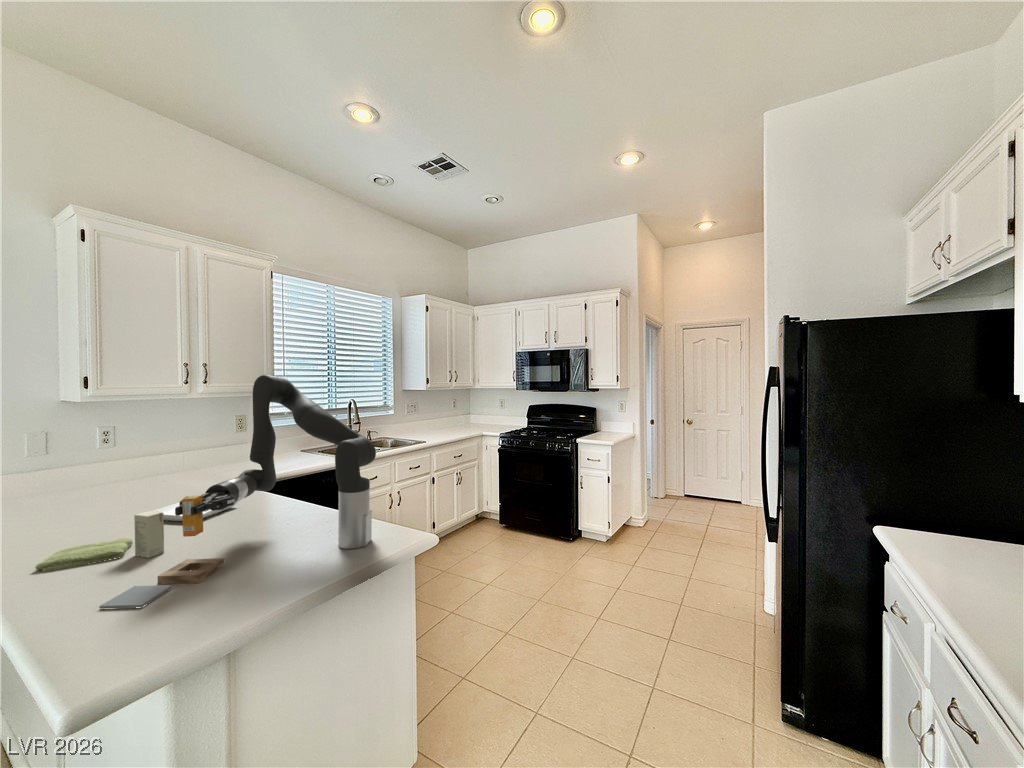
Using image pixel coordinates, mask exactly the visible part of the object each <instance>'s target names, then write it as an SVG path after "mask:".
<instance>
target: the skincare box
mask: <svg viewBox="0 0 1024 768" xmlns="http://www.w3.org/2000/svg"><path fill="white" fill-rule="evenodd" d="M164 521H165V520H164V519H163V512H156V511H154V510H149V511H144V512H141V513H137V514H134V556H135V555H136V556H135V557H139V556H141V557H140V558H147V559H149V558H151V557H155V556H158V555H161V554H163V553H165V531H164V525H165V523H164Z"/></svg>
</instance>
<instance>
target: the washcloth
mask: <svg viewBox="0 0 1024 768" xmlns="http://www.w3.org/2000/svg"><path fill="white" fill-rule="evenodd" d="M133 543H134V541H133V539H131V538H130V537H121V538H117V539H114V540H108V541H102V542H96V543H88V544H83V545H78V546H72V547H67V548H64V549H60V550H58V551H55V552H54V553H53V554H51V555H49V556H47V557H45V558H44V559H43V560H42V562H39V563H37V564H36V565H35V570H42V572H43V573H47V572H48V573H49V572H51V571H52V572H53V571H58V570H62V569H64V570H65V569H70V568H74V566H75V567H79V565H80V566H85V565H84V564H86V565H89V564H88V563H91V564H94V563H93V562H97V563H100V562H99V561H102V562H105V561H104V560H109V559H113V560H115V559H114V558H118V559H120V558H119V557H121V558H122V557H124V556H125V553H127V551H128V550H129V548H130V547H131V546H132V545H133ZM109 561H110V560H109ZM69 567H70V568H69Z"/></svg>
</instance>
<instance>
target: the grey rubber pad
mask: <svg viewBox="0 0 1024 768" xmlns="http://www.w3.org/2000/svg"><path fill="white" fill-rule="evenodd" d="M173 585H174V584H173ZM173 585H172V584H158V585H133V586H132V587H130V588H129V589H127V590H125V591H124V592H122V593H120V594H118V595H116V596H114V597H113V598H111V599H109V600H108V601H106V602H104V603H102V604H100V605H99V606H98V607H99V608H136V607H143V606H144V605H146V604H148V603H149V602H151V601H152V602H154V601H155V600H157V599H159V598H160V597H161V595H162V594H163V595H165V594H166V593H168V592H169V591H170V589H171V588H172V589H173V588H174V586H173ZM172 589H171V590H172ZM168 590H169V591H168ZM167 591H168V592H167ZM165 592H166V593H165ZM164 593H165V594H164ZM163 595H162V596H163ZM159 596H160V597H159ZM158 597H159V598H158ZM156 598H157V599H156ZM154 599H155V600H154ZM153 600H154V601H153ZM152 602H151V603H152ZM149 604H150V603H149ZM149 604H148V605H149ZM146 606H147V605H146ZM143 608H144V607H143ZM136 609H137V608H136Z"/></svg>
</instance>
